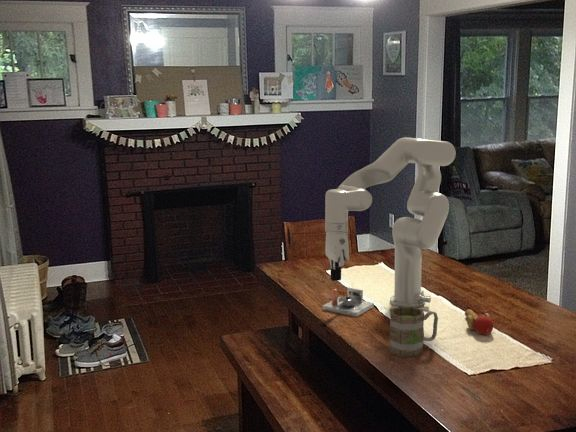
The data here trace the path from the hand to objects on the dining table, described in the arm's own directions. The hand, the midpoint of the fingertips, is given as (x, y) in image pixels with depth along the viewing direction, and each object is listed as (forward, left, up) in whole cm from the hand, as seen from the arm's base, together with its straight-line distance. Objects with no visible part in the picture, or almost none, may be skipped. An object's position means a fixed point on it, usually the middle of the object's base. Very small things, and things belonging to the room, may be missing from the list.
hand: (335, 279), depth 220 cm
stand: (+3, -12, -14) cm, 19 cm away
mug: (-32, +8, -15) cm, 36 cm away
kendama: (-42, -20, -15) cm, 49 cm away
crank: (+3, -9, -12) cm, 15 cm away
